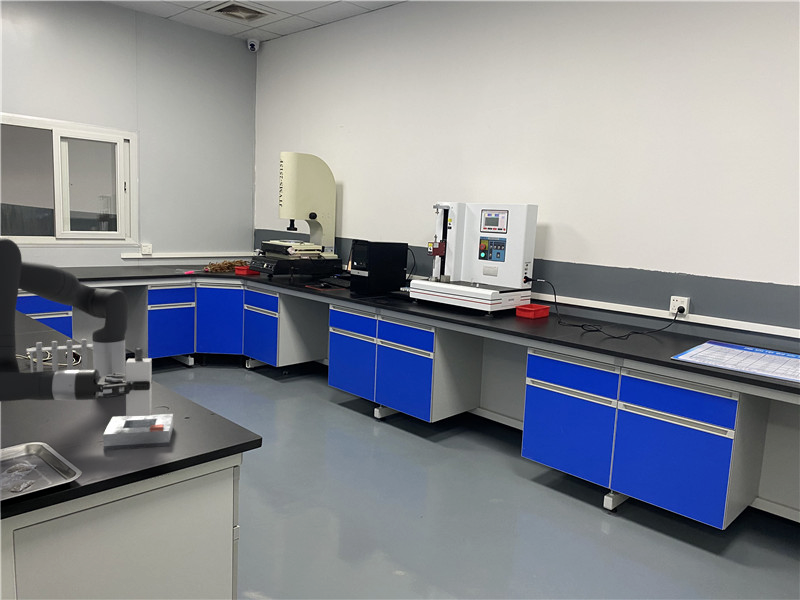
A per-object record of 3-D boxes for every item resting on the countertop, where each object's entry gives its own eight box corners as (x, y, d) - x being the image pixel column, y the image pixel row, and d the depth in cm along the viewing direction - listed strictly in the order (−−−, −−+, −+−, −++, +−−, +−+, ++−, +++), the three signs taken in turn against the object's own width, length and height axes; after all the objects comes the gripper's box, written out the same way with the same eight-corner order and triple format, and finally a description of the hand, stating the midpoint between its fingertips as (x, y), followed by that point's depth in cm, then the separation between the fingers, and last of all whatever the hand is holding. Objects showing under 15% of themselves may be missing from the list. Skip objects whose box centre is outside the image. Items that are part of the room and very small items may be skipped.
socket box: (112, 431, 157) (112, 413, 157) (173, 427, 162) (173, 411, 161) (103, 450, 145) (103, 431, 145) (169, 446, 149) (168, 427, 149)
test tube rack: (109, 372, 212) (108, 336, 210) (111, 375, 209) (110, 338, 207) (27, 380, 198) (25, 342, 196) (27, 384, 195) (26, 344, 193)
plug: (128, 411, 153) (128, 347, 151) (151, 410, 155) (151, 346, 153) (126, 416, 150) (125, 350, 147) (149, 415, 151) (149, 350, 149)
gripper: (69, 377, 140) (147, 375, 145) (82, 363, 153) (154, 362, 158) (69, 408, 141) (147, 405, 146) (83, 391, 154) (154, 389, 159)
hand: (150, 382), depth 152 cm, fingers closed on plug, 4 cm apart
